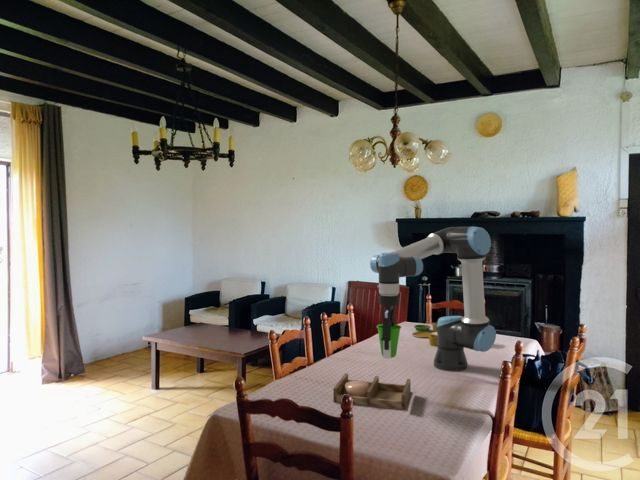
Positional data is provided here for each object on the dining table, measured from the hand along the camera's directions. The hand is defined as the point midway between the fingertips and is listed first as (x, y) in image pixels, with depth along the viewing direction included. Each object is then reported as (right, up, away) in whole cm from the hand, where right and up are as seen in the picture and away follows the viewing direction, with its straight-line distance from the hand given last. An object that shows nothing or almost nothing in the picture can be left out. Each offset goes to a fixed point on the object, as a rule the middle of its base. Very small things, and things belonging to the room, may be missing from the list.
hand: (389, 354), depth 174 cm
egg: (-12, -16, +4) cm, 21 cm away
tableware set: (+42, -15, +97) cm, 107 cm away
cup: (0, -1, 0) cm, 1 cm away
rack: (-6, -17, +2) cm, 18 cm away
